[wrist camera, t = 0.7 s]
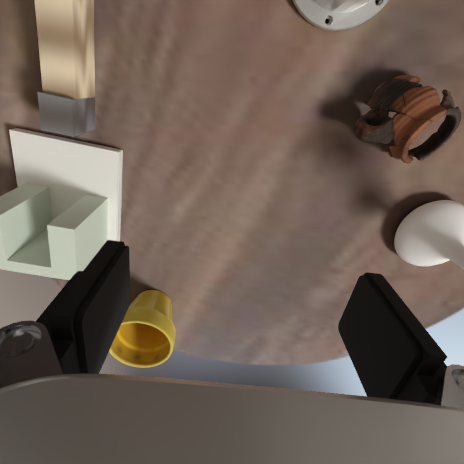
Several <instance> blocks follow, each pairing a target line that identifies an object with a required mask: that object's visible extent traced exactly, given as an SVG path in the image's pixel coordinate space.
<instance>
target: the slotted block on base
mask: <svg viewBox="0 0 464 464" xmlns="http://www.w3.org/2000/svg"><path fill="white" fill-rule="evenodd" d="M9 132H10V139H11V146H12V152H13V159H14V166H15V173H16V179H17V186H18V188H16V189H14V190H12V191H9V192H7V193H5V194H3V195H1V196H0V269H3V270H9V271H15V272H21V273H27V274H34V275H40V276H46V277H53V278H59V279H65V280H70V279H71V278H72V277H73V275H74V274H75V273H76V272H78V271H83V270H84V269H85V268H86V267H87V265H88V264H89V263H90V262H91V260H92V259H93V258H94V256H95V255H96V254H97V253H98V251H99V250H100V249H101V248H102V246H103V245H104V244H105V242H106V241H107V240H113V241H120V225H121V192H122V159H123V150H121V149H116V148H111V147H107V146H102V145H97V144H92V143H87V142H82V141H77V140H73V139H68V138H63V137H58V136H53V135H48V134H43V133H39V132H34V131H29V130H24V129H19V128H15V129H10V130H9Z"/></svg>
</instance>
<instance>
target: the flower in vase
mask: <svg viewBox="0 0 464 464" xmlns="http://www.w3.org/2000/svg"><path fill="white" fill-rule="evenodd" d="M394 246H395V250H396V252H397V254H398V256H399V257H400V258H401V259H403V260H404V261H406V262H408V263H410V264H413V265H417V266H432V265H437V264H441V263H444V262H446V261H449V260H451V261H453V262H455V263H456V264H457V265H459V266H460V267H461V268H462V269H463V270H464V205H462V204H460V203H458V202H455V201H451V200H439V201H434V202H430V203H427V204H424V205H422V206H420V207H418V208H416V209H415V210H413V211H412V212H411V213H409V214H408V215H407V216H406V217H405V218H404V219H403V221H402V222H401V223H400V225H399V227H398V229H397V231H396V234H395V240H394Z"/></svg>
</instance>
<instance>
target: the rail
mask: <svg viewBox="0 0 464 464" xmlns="http://www.w3.org/2000/svg"><path fill="white" fill-rule="evenodd" d="M35 11H36V22H37V33H38V44H39V55H40V66H41V78H42V89H43V92H37V94H38V104H39V114H40V124H41V130H43V131H48V132H53V133H58V134H63V135H67V136H72V137H74V136H77V135H80V134H83V133H86V132H89V131H92V130H95V61H94V0H35Z"/></svg>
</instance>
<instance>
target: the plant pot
mask: <svg viewBox="0 0 464 464" xmlns="http://www.w3.org/2000/svg"><path fill="white" fill-rule="evenodd" d="M175 335H176V331H175V327H174V324H173V322H172V303H171V300H170V298H169V297H168V296H167V295H166V294H165V293H163V292H161V291H157V290H147V291H144V292H142V293H140V294H139V295H138V296H137V297H136V298H135V300H134V301H133V302H132V303H131V304H130V305H129V308H128V310H127V312H126V315H125V317H124V319H123V321H122V323H121V326H120V328H119V330H118V332H117V334H116V337H115V339H114V341H113V343H112V345H111V348H110V350H109V352H110V354H111V355H112V356H113V357H114V358H116V359H117V360H119V361H120V362H122V363H124V364H127V365H130V366H134V367H152V366H156V365H159V364H161V363H163V362H164V361H166V360H167V359H168V358H169V357H170V355H171V353H172V351H173V347H174V342H175Z"/></svg>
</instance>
